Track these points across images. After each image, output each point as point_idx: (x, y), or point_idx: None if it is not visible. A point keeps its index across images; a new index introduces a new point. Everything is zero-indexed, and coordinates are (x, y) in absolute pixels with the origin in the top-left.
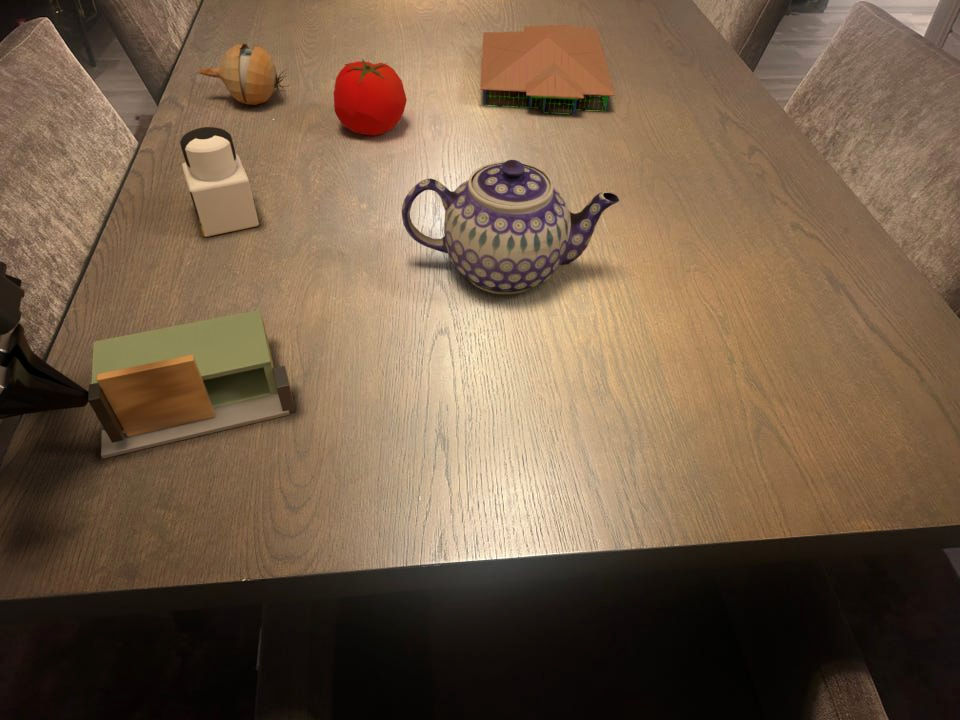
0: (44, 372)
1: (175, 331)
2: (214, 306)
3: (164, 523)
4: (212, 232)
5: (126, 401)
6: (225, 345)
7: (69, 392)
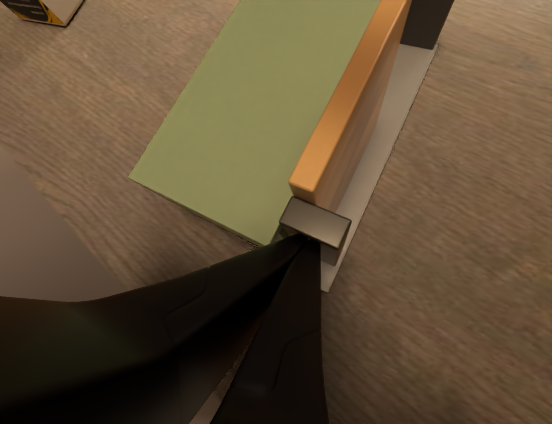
0: (220, 312)
1: (217, 60)
2: (173, 57)
3: (542, 282)
4: (66, 12)
5: (333, 190)
6: (314, 7)
7: (313, 277)
